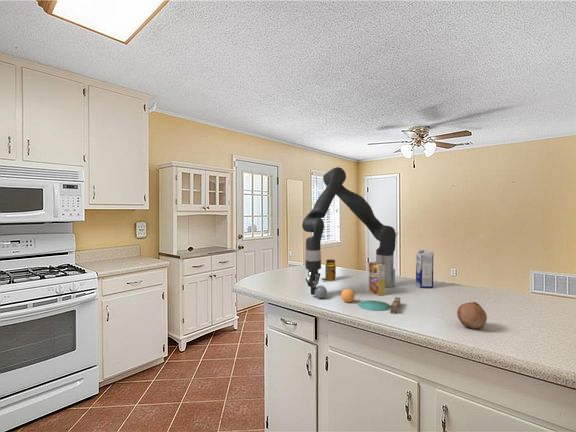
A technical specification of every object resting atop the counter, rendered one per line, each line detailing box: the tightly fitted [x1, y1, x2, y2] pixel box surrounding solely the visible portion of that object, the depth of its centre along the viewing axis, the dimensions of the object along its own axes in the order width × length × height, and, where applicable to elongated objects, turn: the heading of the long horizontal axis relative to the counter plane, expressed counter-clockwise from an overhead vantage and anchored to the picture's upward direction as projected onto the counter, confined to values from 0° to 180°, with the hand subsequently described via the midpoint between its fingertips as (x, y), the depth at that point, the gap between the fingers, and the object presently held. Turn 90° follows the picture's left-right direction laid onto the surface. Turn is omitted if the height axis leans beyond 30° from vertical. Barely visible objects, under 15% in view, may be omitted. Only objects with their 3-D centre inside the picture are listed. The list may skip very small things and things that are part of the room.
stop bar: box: [390, 296, 401, 315], centre depth 138 cm, size 14×2×3 cm, turn 153°
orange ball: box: [340, 288, 355, 303], centre depth 147 cm, size 6×6×6 cm
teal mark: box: [357, 300, 391, 312], centre depth 142 cm, size 14×14×1 cm
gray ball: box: [314, 285, 328, 299], centre depth 153 cm, size 6×6×6 cm
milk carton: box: [415, 249, 435, 289], centre depth 175 cm, size 7×7×20 cm
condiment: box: [320, 259, 338, 282], centre depth 191 cm, size 7×8×12 cm
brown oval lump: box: [456, 301, 488, 330], centre depth 116 cm, size 10×9×10 cm
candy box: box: [368, 261, 386, 296], centre depth 161 cm, size 9×4×15 cm, turn 17°
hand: (313, 294), depth 155 cm, fingers closed
